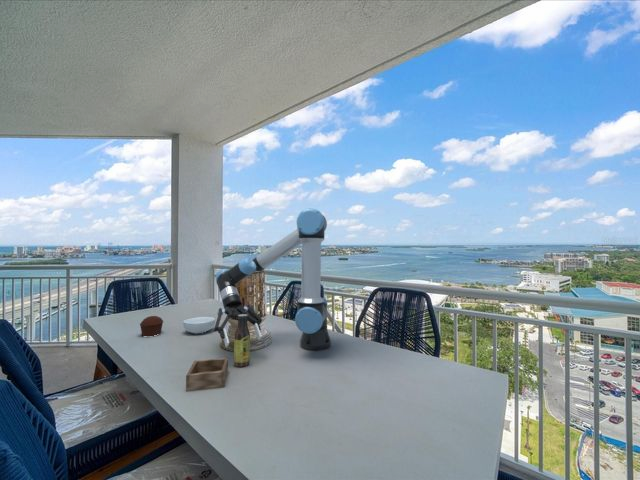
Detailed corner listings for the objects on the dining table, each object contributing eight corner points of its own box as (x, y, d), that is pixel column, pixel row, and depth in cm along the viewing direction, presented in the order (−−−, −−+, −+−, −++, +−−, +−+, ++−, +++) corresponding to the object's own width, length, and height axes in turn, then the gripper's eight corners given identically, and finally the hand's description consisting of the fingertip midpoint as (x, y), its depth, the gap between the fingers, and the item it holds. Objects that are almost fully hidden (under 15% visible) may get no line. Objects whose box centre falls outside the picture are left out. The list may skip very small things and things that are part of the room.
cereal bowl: (221, 330, 164) (221, 318, 164) (195, 338, 150) (195, 324, 150) (203, 326, 173) (203, 315, 173) (176, 333, 159) (177, 320, 159)
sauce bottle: (245, 368, 111) (245, 317, 112) (230, 367, 112) (231, 316, 113) (252, 361, 117) (252, 313, 118) (238, 360, 118) (239, 313, 119)
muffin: (155, 338, 151) (155, 319, 151) (134, 338, 151) (135, 319, 151) (167, 331, 163) (167, 314, 163) (148, 331, 163) (148, 314, 163)
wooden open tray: (227, 371, 108) (227, 357, 108) (224, 387, 96) (224, 371, 96) (194, 374, 105) (194, 360, 106) (185, 391, 93) (186, 375, 93)
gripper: (254, 301, 135) (269, 340, 123) (199, 307, 120) (210, 353, 108) (259, 291, 131) (275, 330, 119) (203, 296, 116) (214, 342, 104)
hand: (244, 341), depth 113 cm, fingers open, 13 cm apart
